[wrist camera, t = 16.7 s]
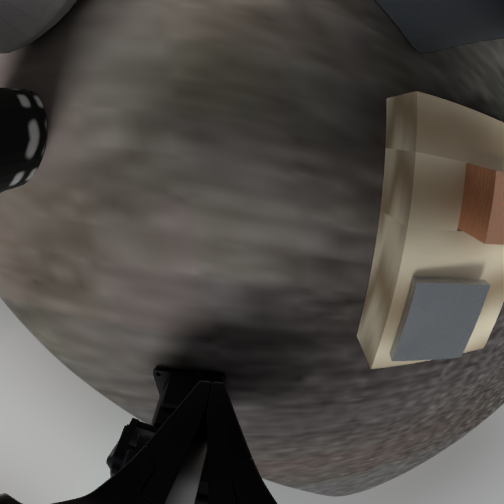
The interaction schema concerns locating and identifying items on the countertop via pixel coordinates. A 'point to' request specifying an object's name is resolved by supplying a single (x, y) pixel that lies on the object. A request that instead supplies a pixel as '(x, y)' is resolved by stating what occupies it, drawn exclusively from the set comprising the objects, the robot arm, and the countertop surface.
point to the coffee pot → (28, 20)
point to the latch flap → (438, 318)
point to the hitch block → (429, 215)
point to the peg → (483, 205)
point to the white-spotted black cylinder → (20, 136)
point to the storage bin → (446, 21)
